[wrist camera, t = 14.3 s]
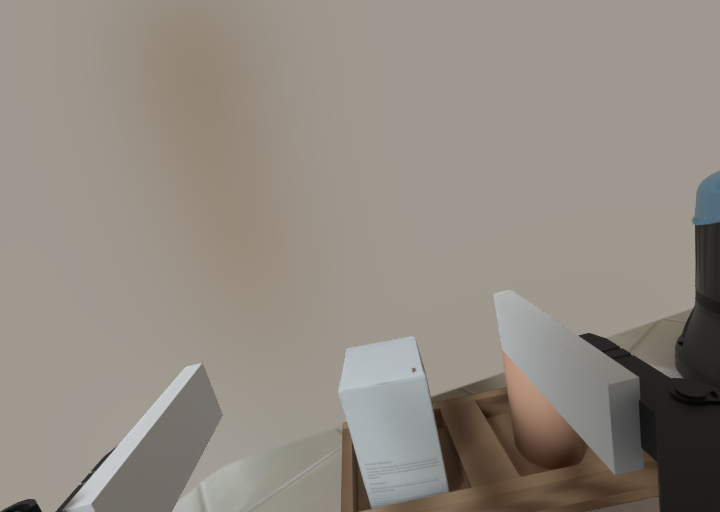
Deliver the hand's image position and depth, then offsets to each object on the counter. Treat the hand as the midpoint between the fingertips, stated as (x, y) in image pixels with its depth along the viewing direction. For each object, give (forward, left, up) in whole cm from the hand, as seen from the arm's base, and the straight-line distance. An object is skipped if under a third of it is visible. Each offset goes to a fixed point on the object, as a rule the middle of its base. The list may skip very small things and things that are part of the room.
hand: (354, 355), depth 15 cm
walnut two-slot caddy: (-8, -14, -22) cm, 27 cm away
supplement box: (-1, -14, -21) cm, 26 cm away
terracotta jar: (-15, -14, -21) cm, 29 cm away
